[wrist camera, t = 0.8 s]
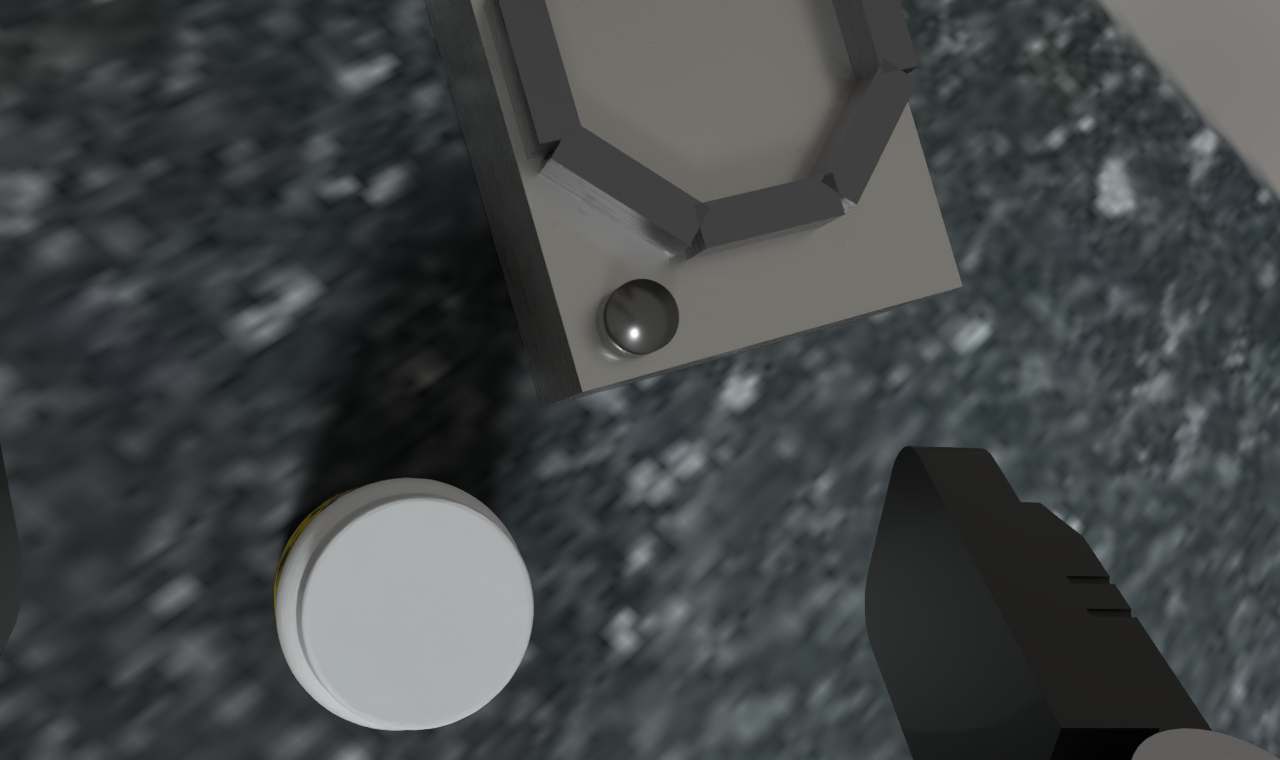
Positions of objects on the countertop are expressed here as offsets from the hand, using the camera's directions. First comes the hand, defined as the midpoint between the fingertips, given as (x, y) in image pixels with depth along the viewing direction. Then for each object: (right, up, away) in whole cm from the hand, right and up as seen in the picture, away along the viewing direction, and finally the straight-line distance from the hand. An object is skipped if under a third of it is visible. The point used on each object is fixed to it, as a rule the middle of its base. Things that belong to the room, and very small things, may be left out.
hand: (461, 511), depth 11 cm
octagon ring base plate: (+2, +8, +21) cm, 23 cm away
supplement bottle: (-5, -4, +18) cm, 19 cm away
